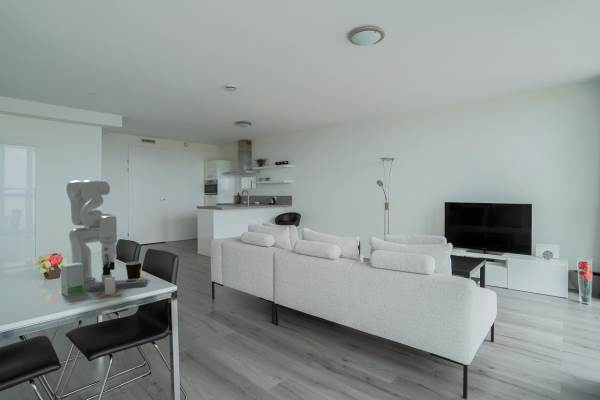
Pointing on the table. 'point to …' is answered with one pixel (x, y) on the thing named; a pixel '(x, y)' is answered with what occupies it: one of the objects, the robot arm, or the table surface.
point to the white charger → (109, 285)
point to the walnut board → (102, 294)
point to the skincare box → (72, 279)
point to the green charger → (105, 277)
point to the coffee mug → (133, 270)
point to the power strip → (120, 284)
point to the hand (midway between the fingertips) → (108, 272)
